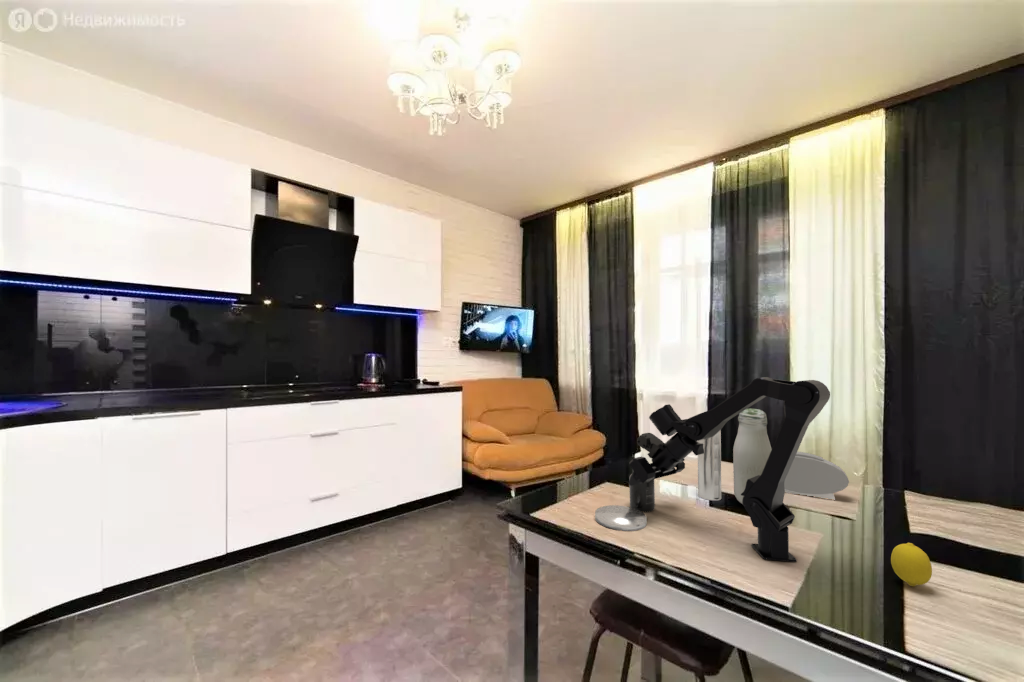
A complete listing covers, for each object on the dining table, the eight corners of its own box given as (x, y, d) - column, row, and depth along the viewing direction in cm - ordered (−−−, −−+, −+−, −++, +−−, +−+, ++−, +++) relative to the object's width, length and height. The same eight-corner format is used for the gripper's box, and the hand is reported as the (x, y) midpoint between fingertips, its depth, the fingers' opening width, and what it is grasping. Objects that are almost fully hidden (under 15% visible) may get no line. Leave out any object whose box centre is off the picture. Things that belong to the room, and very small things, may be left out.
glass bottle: (734, 508, 115) (732, 409, 116) (733, 497, 124) (732, 405, 125) (775, 515, 110) (773, 411, 111) (771, 503, 119) (770, 407, 120)
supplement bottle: (651, 504, 118) (651, 462, 118) (657, 513, 111) (657, 469, 112) (627, 503, 119) (627, 461, 119) (631, 512, 112) (631, 468, 112)
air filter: (699, 499, 122) (698, 415, 123) (696, 492, 128) (695, 413, 129) (723, 501, 120) (722, 417, 121) (719, 494, 126) (718, 414, 127)
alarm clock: (846, 497, 125) (845, 455, 125) (849, 503, 119) (848, 460, 120) (758, 484, 137) (758, 446, 138) (757, 489, 132) (757, 449, 133)
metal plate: (650, 532, 99) (650, 526, 99) (596, 528, 101) (596, 522, 101) (642, 512, 111) (642, 506, 111) (594, 509, 113) (594, 503, 114)
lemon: (910, 578, 79) (909, 536, 80) (941, 594, 74) (940, 549, 74) (883, 578, 79) (882, 536, 79) (912, 595, 74) (911, 550, 74)
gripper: (675, 421, 118) (642, 452, 126) (635, 428, 106) (602, 461, 115) (701, 454, 111) (665, 484, 119) (662, 465, 100) (625, 497, 108)
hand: (639, 481), depth 116 cm, fingers open, 9 cm apart
